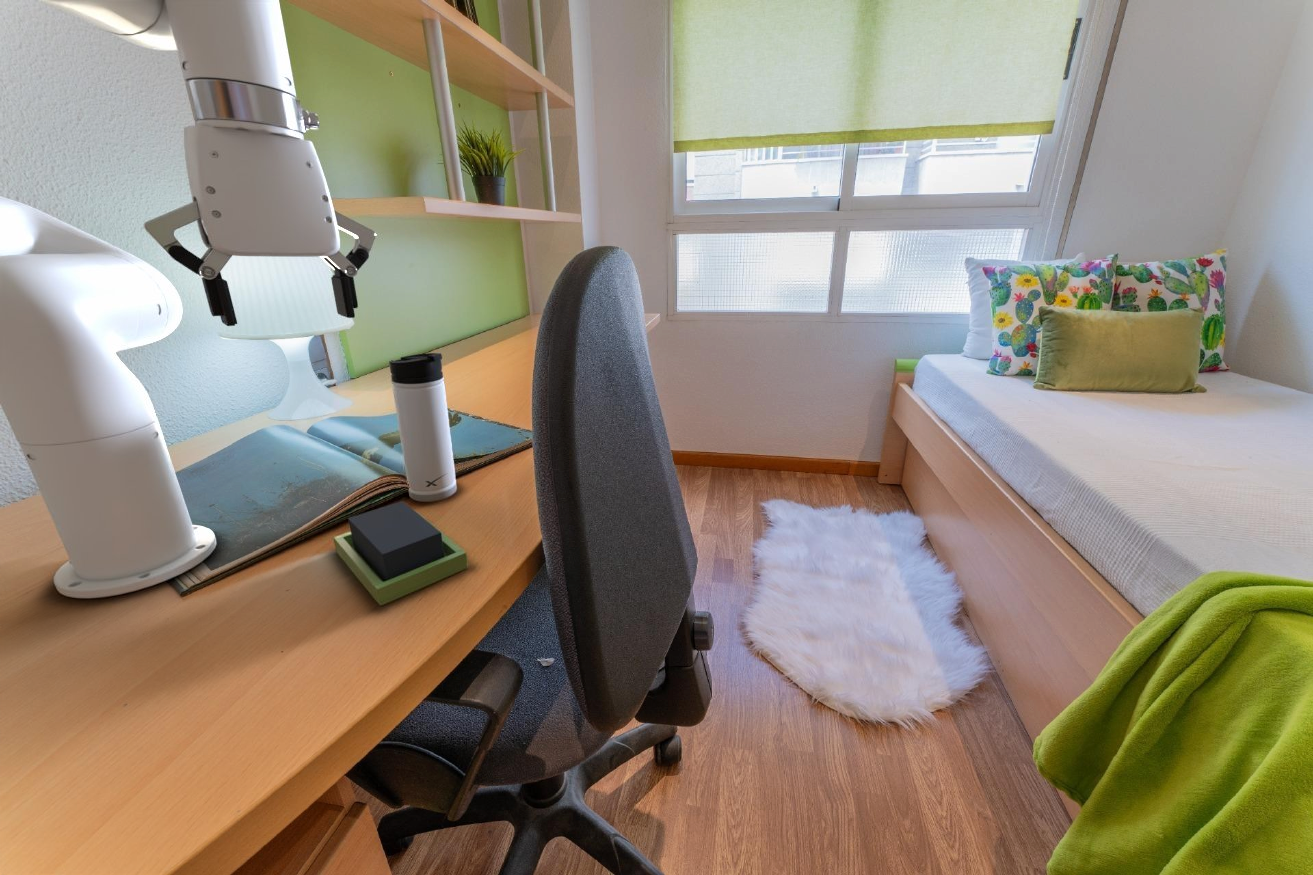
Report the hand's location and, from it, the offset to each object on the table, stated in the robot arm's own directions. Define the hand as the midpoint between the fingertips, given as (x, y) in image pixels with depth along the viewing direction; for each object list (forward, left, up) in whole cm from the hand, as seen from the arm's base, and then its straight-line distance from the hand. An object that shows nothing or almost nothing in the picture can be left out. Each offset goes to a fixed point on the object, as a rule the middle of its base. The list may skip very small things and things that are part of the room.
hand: (291, 320), depth 50 cm
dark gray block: (+6, +4, -26) cm, 27 cm away
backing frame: (+7, +4, -26) cm, 27 cm away
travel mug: (-7, +14, -26) cm, 31 cm away
